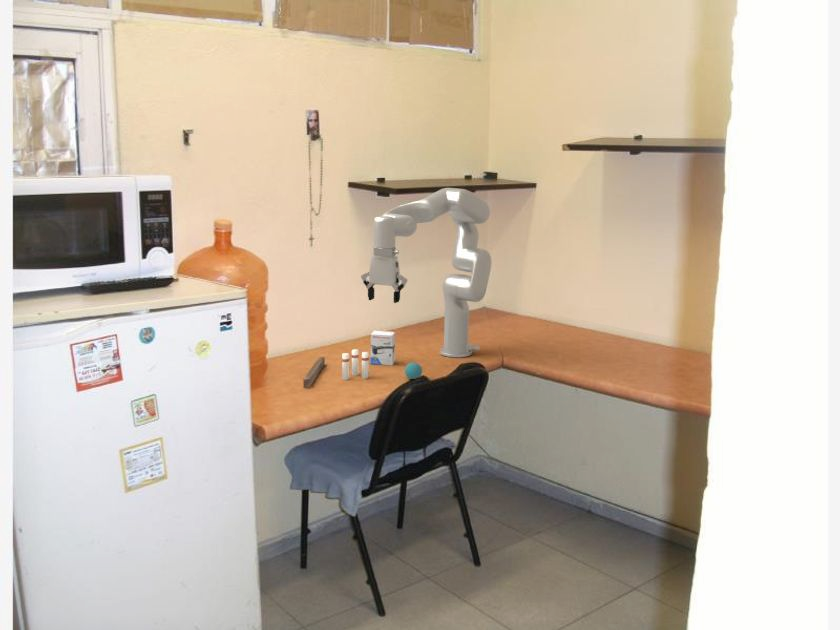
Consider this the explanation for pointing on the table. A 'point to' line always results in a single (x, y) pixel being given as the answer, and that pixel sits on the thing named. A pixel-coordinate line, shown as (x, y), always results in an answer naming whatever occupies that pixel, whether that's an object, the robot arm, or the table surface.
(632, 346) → the table surface
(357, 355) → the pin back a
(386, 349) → the ink box
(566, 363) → the table surface
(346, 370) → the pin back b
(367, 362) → the pin front
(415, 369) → the ball
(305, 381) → the bar
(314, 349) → the table surface
